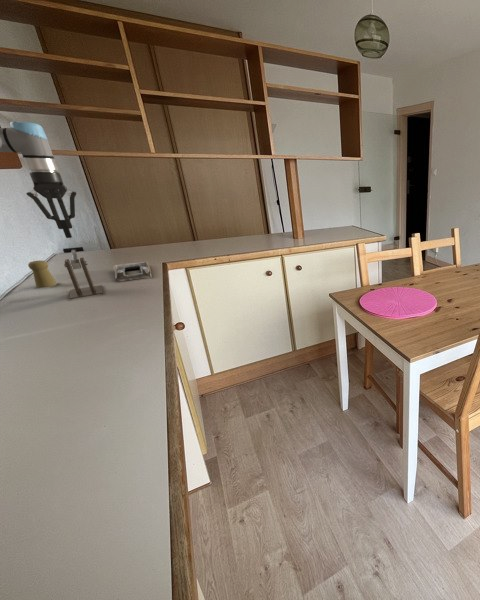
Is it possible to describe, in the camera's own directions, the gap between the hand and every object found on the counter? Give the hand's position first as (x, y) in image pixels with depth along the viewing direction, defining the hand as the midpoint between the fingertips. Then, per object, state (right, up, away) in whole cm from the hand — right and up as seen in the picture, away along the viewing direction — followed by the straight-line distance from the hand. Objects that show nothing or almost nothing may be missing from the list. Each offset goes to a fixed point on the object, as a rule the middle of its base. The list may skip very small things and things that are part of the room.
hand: (69, 237), depth 121 cm
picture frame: (+4, -13, +25) cm, 28 cm away
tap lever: (+3, -9, 0) cm, 9 cm away
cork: (-16, -19, +7) cm, 26 cm away
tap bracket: (+6, -22, +1) cm, 23 cm away
